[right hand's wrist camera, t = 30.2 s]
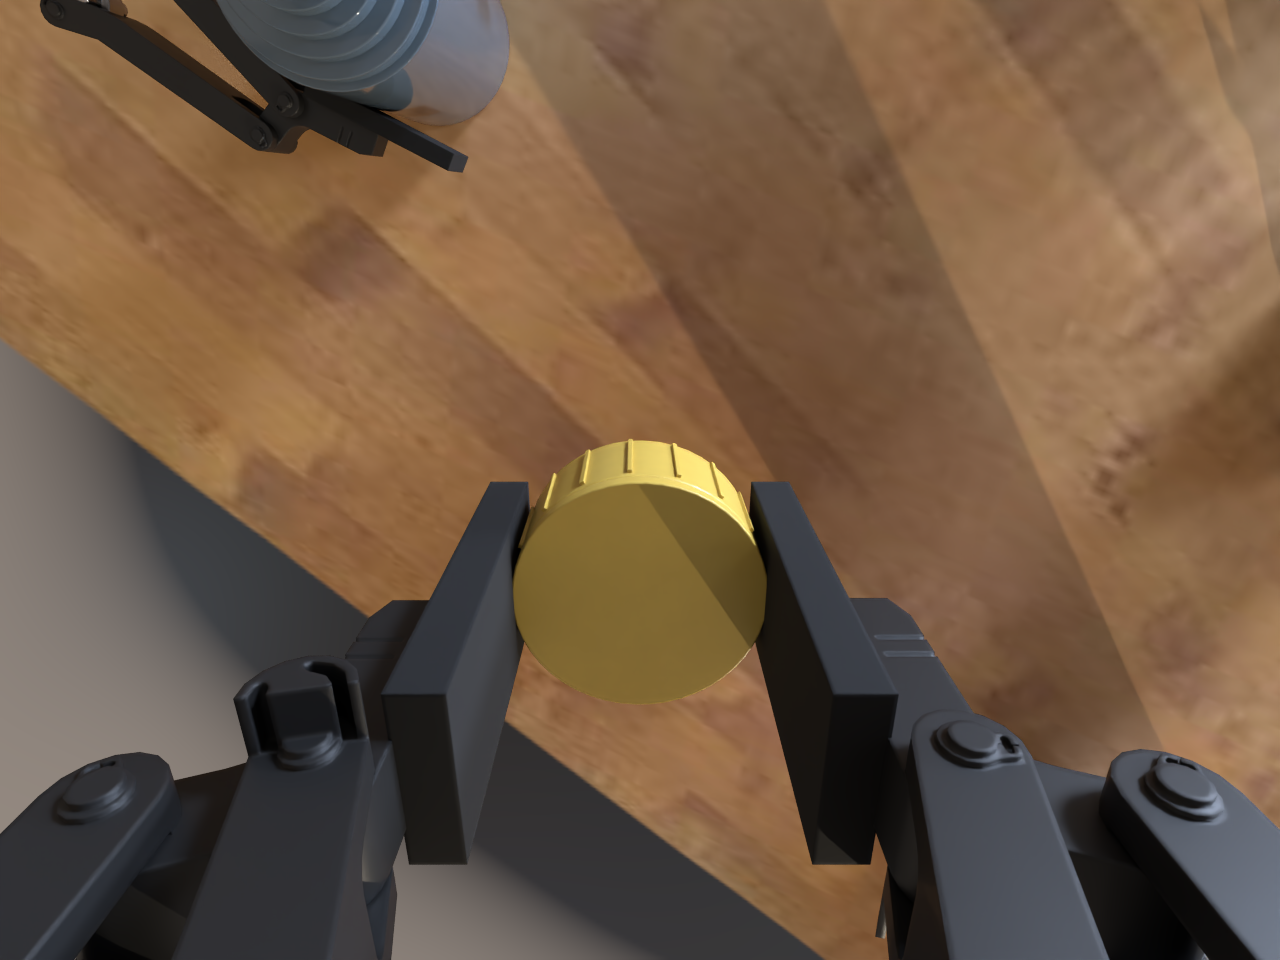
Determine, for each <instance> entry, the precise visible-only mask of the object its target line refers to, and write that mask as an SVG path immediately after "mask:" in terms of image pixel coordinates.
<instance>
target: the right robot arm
mask: <svg viewBox="0 0 1280 960" xmlns="http://www.w3.org/2000/svg"><path fill="white" fill-rule="evenodd" d="M529 513H530V504H529V488H528V482H490V484H489V486H488V488H487V490H486V492H485V494H484V496H483V498H482V499H481V501H480V503H479V505H478V507H477V509H476V511H475V513H474V515H473V517H472V519H471V521H470V523H469V525H468V527H467V528H466V530H465V532H464V534H463V536H462V538H461V540H460V542H459V544H458V546H457V548H456V550H455V552H454V554H453V555H452V557H451V559H450V561H449V563H448V565H447V567H446V569H445V571H444V573H443V575H442V577H441V579H440V581H439V583H438V584H437V586H436V588H435V590H434V592H433V594H432V596H431V598H430V600H393V601H391V602H390V603H388V604H387V605H386V606H384V607H383V608H382V609H380V610H379V611H378V612H376V613H375V614H373V615H372V616H371V617H369V619H368V620H367V622H366V623H365V625H364V627H363V628H362V630H361V631H360V633H359V634H358V636H357V637H356V642H353V644H352V645H351V647H350V648H349V650H348V652H347V653H346V655H345V656H346V657H345V659H341V658H337V657H334V656H330V655H329V656H306V657H301V658H297V659H293V660H288V661H284V662H282V663H280V664H278V665H275V666H273V667H271V668H268V669H266V670H264V671H262V672H261V673H259V674H258V675H256V676H255V677H254V678H252V679H251V680H249V681H248V682H247V683H245V684H244V685H243V687H242V688H241V689H240V691H239V692H238V693H237V695H236V696H235V697H234V699H233V700H234V703H235V707H236V711H237V715H238V719H239V722H240V726H241V730H242V734H243V738H244V741H245V745H246V749H247V753H248V760H247V762H246V763H243V764H240V765H237V766H233V767H230V768H227V769H223V770H218V771H214V772H209V773H205V774H201V775H197V776H192V777H188V778H183V779H179V780H174V779H173V776H172V773H171V770H170V767H169V764H167V763H166V762H165V761H164V760H163V759H162V758H161V757H159V756H158V755H153V754H147V753H142V752H136V753H128V754H120V755H114V756H111V757H108V758H105V759H102V760H99V761H96V762H93V763H90V764H87V765H85V766H83V767H82V768H80V769H78V770H76V771H74V772H72V773H70V774H68V775H66V776H65V777H63V778H61V779H60V780H58V781H57V782H56V783H55V784H53V785H52V786H51V787H49V788H48V789H47V790H46V791H44V792H43V793H42V794H41V795H39V796H38V797H37V798H36V799H35V800H34V801H33V802H32V803H31V804H30V805H29V806H28V807H27V808H26V809H25V810H24V811H23V812H22V813H21V814H20V815H19V816H18V817H17V818H16V819H15V820H14V821H13V822H12V823H11V824H10V825H9V826H8V827H7V828H6V829H5V830H4V831H3V832H2V833H1V834H0V960H74V959H75V958H76V959H75V960H391V955H392V944H393V933H394V922H395V911H396V901H397V891H396V884H395V878H394V872H393V864H394V861H395V858H396V855H397V853H398V850H399V847H400V845H401V842H402V839H403V836H404V837H405V843H406V849H407V855H408V861H409V864H410V865H411V864H412V865H417V864H418V865H428V864H430V865H432V864H433V865H434V864H436V865H437V864H467V863H468V859H469V855H470V851H471V847H472V844H473V840H474V836H475V832H476V828H477V824H478V820H479V816H480V813H481V809H482V805H483V801H484V797H485V793H486V789H487V785H488V782H489V778H490V774H491V770H492V766H493V762H494V758H495V754H496V750H497V747H498V743H499V739H500V735H501V731H502V727H503V723H504V719H505V715H506V712H507V708H508V704H509V700H510V696H511V692H512V688H513V684H514V680H515V677H516V673H517V669H518V665H519V661H520V657H521V653H522V649H523V645H524V640H523V638H522V636H521V633H520V631H519V629H518V626H517V624H516V620H515V611H514V599H513V584H512V581H513V575H514V570H515V566H516V563H517V560H518V557H519V553H520V550H521V549H520V548H518V546H519V543H520V540H521V537H522V534H523V531H524V528H525V525H526V522H527V519H528V516H529ZM749 517H750V520H751V523H752V525H753V528H754V531H753V533H754V536H755V539H756V542H757V544H758V547H759V550H760V553H761V556H762V559H763V562H764V566H765V570H766V573H767V588H766V601H765V614H764V622H763V625H762V628H761V631H760V633H759V635H758V637H757V639H756V641H755V643H756V647H757V651H758V655H759V659H760V663H761V667H762V671H763V674H764V678H765V682H766V686H767V690H768V694H769V698H770V702H771V706H772V710H773V713H774V717H775V721H776V725H777V729H778V733H779V737H780V741H781V745H782V748H783V752H784V756H785V760H786V764H787V768H788V772H789V776H790V780H791V783H792V787H793V791H794V795H795V799H796V803H797V807H798V811H799V815H800V818H801V822H802V826H803V830H804V834H805V838H806V842H807V846H808V850H809V853H810V857H811V861H812V865H870V864H871V858H872V852H873V846H874V840H875V834H877V837H878V840H879V842H880V845H881V848H882V850H883V853H884V856H885V859H886V861H887V864H888V866H887V872H886V878H885V883H884V889H883V894H882V900H881V905H880V911H879V916H878V922H877V929H876V936H875V937H879V938H884V939H885V933H886V931H887V942H888V953H889V960H1208V959H1209V960H1280V830H1279V829H1278V828H1277V827H1276V826H1275V825H1274V824H1273V823H1272V822H1271V821H1270V820H1269V819H1268V818H1267V817H1266V816H1265V815H1264V814H1263V813H1262V812H1261V811H1260V810H1259V809H1258V808H1257V807H1256V806H1255V805H1254V804H1253V803H1252V802H1251V801H1250V800H1249V799H1248V798H1247V797H1246V796H1245V795H1244V794H1243V793H1242V792H1240V791H1239V790H1238V789H1236V788H1235V787H1234V786H1233V785H1231V784H1230V783H1229V782H1227V781H1226V780H1225V779H1224V778H1222V777H1221V776H1220V775H1218V774H1216V773H1214V772H1212V771H1211V770H1209V769H1207V768H1205V767H1203V766H1201V765H1199V764H1197V763H1195V762H1193V761H1191V760H1188V759H1185V758H1182V757H1179V756H1176V755H1173V754H1170V753H1167V752H1161V751H1153V750H1144V749H1138V750H1133V751H1127V752H1122V753H1121V754H1120V755H1119V756H1117V757H1116V758H1115V759H1114V760H1113V761H1112V762H1111V765H1110V768H1109V771H1108V774H1107V777H1106V778H1105V777H1101V776H1096V775H1092V774H1088V773H1083V772H1079V771H1074V770H1070V769H1066V768H1061V767H1057V766H1053V765H1050V764H1046V763H1043V762H1040V761H1036V760H1033V758H1032V756H1031V754H1030V753H1029V751H1028V750H1027V748H1026V747H1025V745H1024V744H1023V742H1022V741H1021V740H1020V739H1019V738H1018V737H1017V736H1016V735H1014V734H1013V733H1012V732H1011V731H1009V730H1008V729H1007V728H1006V727H1005V726H1003V725H1001V724H999V723H997V722H995V721H993V720H991V719H989V718H987V717H985V716H982V715H979V714H975V713H973V711H972V710H971V708H970V707H969V705H968V704H967V702H966V701H965V699H964V697H963V696H962V694H961V693H960V691H959V690H958V688H957V687H956V685H955V683H954V682H953V680H952V679H951V677H950V676H949V674H948V673H947V671H946V669H945V668H944V666H943V665H942V663H941V662H940V660H939V659H938V657H935V655H934V651H933V649H932V648H931V646H930V645H929V643H928V641H927V640H924V635H923V634H922V632H921V631H920V629H919V627H918V626H917V624H916V623H915V621H914V620H913V618H912V617H911V615H909V614H908V613H907V612H905V611H904V610H903V609H901V608H900V607H898V606H897V605H896V604H894V603H893V602H892V601H890V600H889V599H888V598H849V597H848V595H847V593H846V591H845V589H844V587H843V585H842V584H841V582H840V580H839V578H838V576H837V574H836V572H835V570H834V568H833V566H832V564H831V562H830V560H829V558H828V556H827V555H826V553H825V551H824V549H823V547H822V545H821V543H820V541H819V539H818V537H817V535H816V533H815V531H814V529H813V528H812V526H811V524H810V522H809V520H808V518H807V516H806V514H805V512H804V510H803V508H802V506H801V504H800V502H799V500H798V499H797V497H796V495H795V493H794V491H793V489H792V487H791V485H790V483H789V482H751V496H750V512H749ZM1204 955H1206V956H1207V958H1208V959H1207V958H1206V957H1205V956H1204Z"/></svg>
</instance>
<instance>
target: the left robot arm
mask: <svg viewBox="0 0 1280 960" xmlns="http://www.w3.org/2000/svg"><path fill="white" fill-rule="evenodd" d="M174 1H175V2H176V3H177V5H178V6H179V7H180V8H181V9H182V10H183V11H184V12H185V13H186V14H187V15H188V16H189V18H190V19H191V20H192V21H193V22H194V23H195V24H196V25H197V26H198V27H199V28H200V30H201V31H202V32H203V33H204V34H205V35H206V36H207V37H208V38H209V39H210V40H211V41H212V43H213V44H214V45H215V46H216V47H217V48H218V49H219V50H220V51H221V52H222V53H223V54H224V56H225V57H226V58H227V59H228V60H229V61H230V62H231V63H232V64H233V65H234V66H235V68H236V69H237V70H238V71H239V72H240V73H241V74H242V75H243V76H244V77H245V78H246V79H247V81H248V82H249V83H250V84H251V85H252V86H253V87H254V88H255V89H256V90H257V91H258V92H259V94H260V95H261V96H262V97H263V98H264V99H265V100H266V101H267V102H268V103H269V104H268V106H267V107H266V108H265V109H263V108H262V107H260V106H259V105H258V104H256V103H255V102H253V101H252V100H251V99H249V98H248V97H246V96H245V95H244V94H242V93H241V92H239V91H238V90H237V89H235V88H234V87H232V86H231V85H230V84H228V83H227V82H225V81H224V80H223V79H221V78H220V77H219V76H217V75H216V74H214V73H213V72H212V71H210V70H209V69H207V68H206V67H205V66H203V65H202V64H200V63H199V62H198V61H196V60H195V59H193V58H192V57H191V56H189V55H188V54H186V53H185V52H184V51H182V50H181V49H180V48H178V47H177V46H175V45H174V44H173V43H171V42H170V41H168V40H167V39H166V38H164V37H163V36H161V35H160V34H159V33H157V32H156V31H154V30H153V29H151V28H149V27H148V26H146V25H144V24H142V23H140V22H138V21H136V20H133V19H131V18H128V17H125V16H127V14H128V10H127V7H126V5H125V4H123V3H122V0H41V2H40V8H41V12H42V14H43V16H44V18H45V19H46V20H47V21H48V22H49V23H50V24H52V25H54V26H56V27H59V28H62V29H66V30H69V31H72V32H75V33H78V34H82V35H85V36H88V37H91V38H94V39H98V40H99V41H101V42H102V43H104V44H105V45H106V46H108V47H109V48H111V49H112V50H114V51H115V52H116V53H118V54H119V55H121V56H122V57H124V58H125V59H126V60H128V61H129V62H131V63H132V64H134V65H135V66H136V67H138V68H139V69H141V70H142V71H143V72H145V73H146V74H148V75H149V76H151V77H152V78H153V79H155V80H156V81H158V82H159V83H161V84H162V85H163V86H165V87H166V88H168V89H169V90H171V91H172V92H173V93H175V94H176V95H178V96H179V97H181V98H182V99H183V100H185V101H186V102H188V103H189V104H190V105H192V106H193V107H195V108H196V109H198V110H199V111H200V112H202V113H203V114H205V115H206V116H208V117H209V118H210V119H212V120H213V121H215V122H216V123H218V124H219V125H220V126H222V127H223V128H225V129H226V130H228V131H229V132H230V133H232V134H233V135H235V136H236V137H237V138H239V139H240V140H242V141H243V142H245V143H246V144H247V145H249V146H250V147H252V148H254V149H256V150H258V151H266V152H274V153H284V154H289V153H292V152H294V150H295V149H296V147H297V143H298V142H297V140H298V139H299V137H300V136H301V135H302V134H303V133H304V132H305V131H306V130H308V129H312V130H314V131H315V132H317V133H319V134H321V135H323V136H325V137H327V138H329V139H331V140H333V141H335V142H337V143H339V144H341V145H343V146H345V147H347V148H349V149H351V150H353V151H355V152H357V153H359V154H363V155H370V156H380V157H383V154H384V151H385V148H386V145H387V142H388V140H390V141H392V142H393V143H395V144H397V145H399V146H401V147H403V148H405V149H407V150H409V151H411V152H413V153H415V154H417V155H419V156H420V157H422V158H424V159H426V160H428V161H430V162H432V163H434V164H436V165H438V166H440V167H442V168H444V169H446V170H447V171H454V172H462V173H463V170H464V167H465V164H466V162H467V159H468V156H466V155H464V154H462V153H460V152H458V151H456V150H454V149H452V148H450V147H448V146H447V145H445V144H443V143H441V142H439V141H437V140H435V139H433V138H431V137H429V136H427V135H426V134H424V133H422V132H420V131H418V130H416V129H414V128H412V127H410V126H408V125H406V124H405V123H403V122H401V121H399V120H397V119H395V118H393V117H391V116H389V115H387V114H385V113H384V112H382V111H380V110H378V109H375V108H372V107H369V106H366V105H363V104H360V103H357V102H353V101H350V100H347V99H344V98H341V97H338V96H335V95H332V94H329V93H326V92H323V91H320V90H316V89H313V88H310V87H307V86H304V85H301V84H299V83H296V82H294V81H292V80H290V79H288V78H286V77H284V76H283V75H281V74H279V73H278V72H276V71H275V70H273V69H272V68H270V67H269V66H268V65H266V64H265V63H264V62H263V61H262V60H260V59H259V58H258V57H257V56H256V55H255V54H254V53H253V52H252V51H251V50H250V49H249V48H248V47H247V46H246V45H245V44H244V43H243V41H242V40H241V39H240V38H239V36H238V35H237V34H236V33H235V31H234V30H233V29H232V27H231V25H230V24H229V22H228V21H227V19H226V18H225V16H224V15H223V13H222V11H221V9H220V7H219V5H218V3H217V1H216V0H174Z"/></svg>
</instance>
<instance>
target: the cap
mask: <svg viewBox="0 0 1280 960" xmlns="http://www.w3.org/2000/svg"><path fill="white" fill-rule="evenodd" d="M753 531H754V528H753V525H752V523H751V520H750V517H749V514H748V511H747V509H746V506H745V503H744V500H743V497H742V494H741V493H740V492H738V493H737V492H736V490H735V489H734V487H733V486H732V484H731V483H730V482H729V481H728V479H727V478H726V477H725V476H724V475H723V474H722V473H721V472H720V471H719V470H718V469H717V468H716V466H715V464H714V463H713V462H711V463H709V462H707V461H706V460H705V459H703V458H702V457H700V456H698V455H696V454H694V453H692V452H690V451H688V450H685V449H683V448H680V447H677V444H674V443H672V445H670V444H666V443H661V442H653V441H633V440H632V439H628V441H626V442H619V443H613V444H609V445H606V446H602V447H599V448H596V449H594V450H592V451H590V450H586V451H585V454H583V455H581V456H580V457H578V458H576V459H575V460H573V461H571V462H570V463H569V464H568V465H566V466H565V467H564V468H563V469H561V470H560V471H559V472H558V473H557V474H555V473H554V474H553V475H552V476H551V479H550V482H549V483H548V485H547V486H546V487H545V489H544V490H543V491H542V493H541V495H540V497H539V499H538V501H537V503H536V505H535V507H531V510H530V513H529V516H528V519H527V522H526V525H525V528H524V531H523V534H522V537H521V540H520V543H519V546H518V548H520V549H521V550H520V553H519V557H518V560H517V563H516V566H515V570H514V575H513V581H512V584H513V599H514V611H515V620H516V624H517V626H518V629H519V631H520V633H521V636H522V638H523V640H524V642H525V643H526V645H527V647H528V648H529V650H530V651H531V653H532V654H533V655H534V656H535V658H536V659H537V660H538V661H539V663H540V664H541V665H542V666H544V667H545V668H546V669H547V670H548V671H549V672H550V673H551V674H552V675H554V676H555V677H556V678H558V679H559V680H560V681H562V682H563V683H565V684H567V685H568V686H570V687H572V688H574V689H575V690H578V691H580V692H582V693H585V694H587V695H589V696H592V697H596V698H599V699H602V700H606V701H611V702H616V703H624V704H655V703H663V702H668V701H673V700H677V699H681V698H684V697H687V696H689V695H692V694H695V693H697V692H699V691H701V690H703V689H705V688H707V687H709V686H711V685H713V684H714V683H716V682H717V681H719V680H720V679H722V678H723V677H724V676H726V675H727V674H728V673H729V672H730V671H732V670H733V669H734V668H735V667H736V666H737V665H738V664H739V663H740V662H741V661H742V660H743V658H744V657H745V656H746V655H747V653H748V652H749V650H750V649H751V648H752V646H753V644H754V643H755V641H756V639H757V637H758V635H759V633H760V631H761V628H762V625H763V622H764V614H765V601H766V588H767V573H766V570H765V566H764V562H763V559H762V556H761V553H760V550H759V547H758V544H757V542H756V539H755V536H754V533H753Z"/></svg>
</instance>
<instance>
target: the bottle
mask: <svg viewBox="0 0 1280 960" xmlns="http://www.w3.org/2000/svg"><path fill="white" fill-rule="evenodd" d="M216 1H217V3H218V5H219V7H220V9H221V11H222V13H223V15H224V16H225V18H226V19H227V21H228V22H229V24H230V25H231V27H232V29H233V30H234V31H235V33H236V34H237V35H238V36H239V38H240V39H241V40H242V41H243V43H244V44H245V45H246V46H247V47H248V48H249V49H250V50H251V51H252V52H253V53H254V54H255V55H256V56H257V57H258V58H259V59H260V60H262V61H263V62H264V63H265V64H266V65H268V66H269V67H270V68H272V69H273V70H275V71H276V72H278V73H279V74H281V75H283V76H284V77H286V78H288V79H290V80H292V81H294V82H296V83H299V84H301V85H304V86H307V87H310V88H313V89H316V90H320V91H323V92H326V93H329V94H332V95H335V96H338V97H341V98H344V99H347V100H350V101H353V102H357V103H360V104H363V105H366V106H369V107H372V108H375V109H378V110H381V111H384V112H387V113H391V114H394V115H397V116H400V117H403V118H406V119H409V120H412V121H415V122H418V123H421V124H427V125H433V126H445V125H452V124H456V123H460V122H462V121H465V120H467V119H469V118H471V117H473V116H474V115H476V114H477V113H479V112H480V111H481V110H482V109H483V108H485V107H486V106H487V104H488V103H489V102H490V101H491V100H492V99H493V97H494V96H495V94H496V93H497V91H498V89H499V87H500V85H501V83H502V81H503V78H504V75H505V72H506V68H507V63H508V57H509V33H508V26H507V21H506V17H505V13H504V10H503V8H502V5H501V3H500V0H216Z"/></svg>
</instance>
